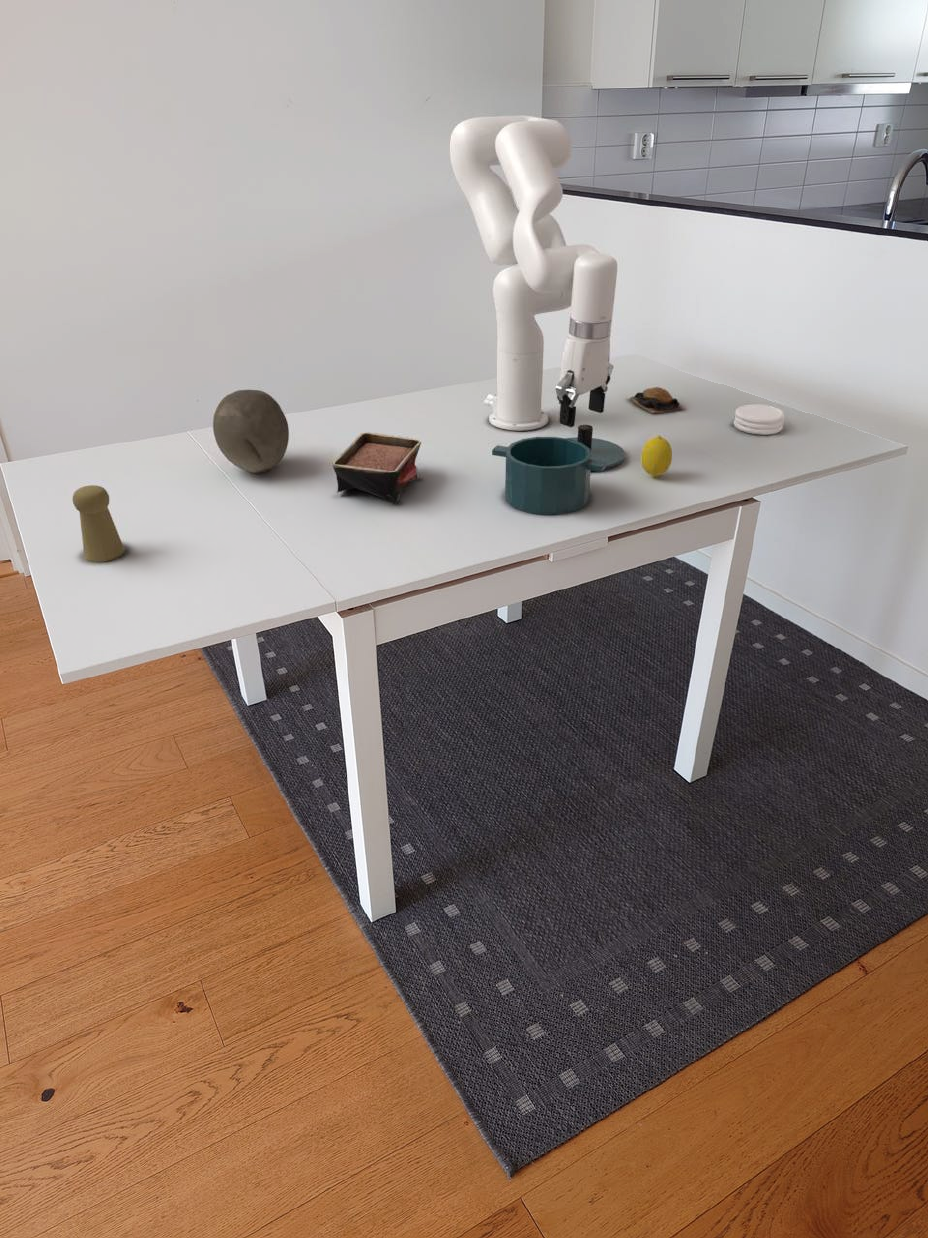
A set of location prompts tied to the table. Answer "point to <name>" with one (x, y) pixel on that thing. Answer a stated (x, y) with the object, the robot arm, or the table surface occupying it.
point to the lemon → (656, 456)
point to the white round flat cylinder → (759, 419)
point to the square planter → (378, 465)
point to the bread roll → (656, 401)
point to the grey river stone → (251, 430)
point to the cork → (97, 524)
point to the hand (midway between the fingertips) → (581, 418)
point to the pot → (547, 474)
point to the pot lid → (599, 447)
